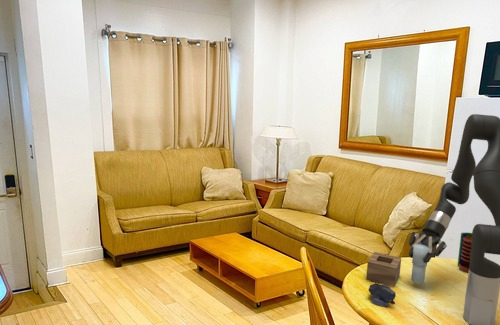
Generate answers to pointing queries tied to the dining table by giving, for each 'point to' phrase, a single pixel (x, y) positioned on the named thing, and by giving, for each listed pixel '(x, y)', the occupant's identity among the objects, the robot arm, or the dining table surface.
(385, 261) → the housing
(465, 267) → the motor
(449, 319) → the dining table surface
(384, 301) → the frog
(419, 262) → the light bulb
